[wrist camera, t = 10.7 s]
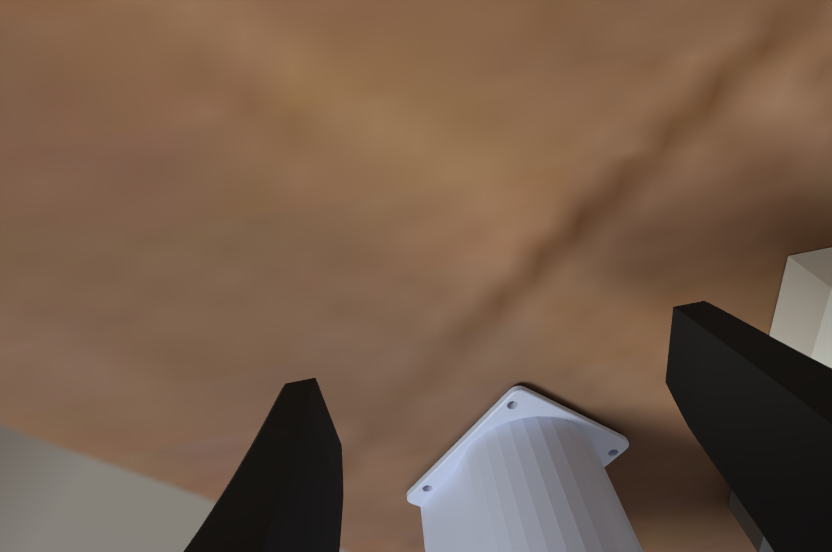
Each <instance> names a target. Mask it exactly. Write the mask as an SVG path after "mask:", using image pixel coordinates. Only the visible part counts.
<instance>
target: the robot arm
mask: <svg viewBox="0 0 832 552" xmlns="http://www.w3.org/2000/svg"><path fill="white" fill-rule="evenodd" d="M666 384H667V386H668V388H669V390H670V392H671V394H672V396H673V398H674V400H675V402H676V404H677V406H678V408H679V410H680V412H681V413H682V415H683V417H684V419H685V421H686V423H687V425H688V426H689V428H690V430H691V431H692V433H693V434H694V436H695V437H696V439H697V440H698V442H699V443H700V444H701V446H702V447H703V449H704V450H705V452H706V453H707V455H708V456H709V458H710V459H711V460H712V462H713V463H714V465H715V466H716V468H717V469H718V471H719V472H720V473H721V475H722V476H723V478H724V479H725V481H726V482H727V483H728V485H729V486H730V488H731V489H732V491H733V492H734V493H735V495H736V496H737V498H738V499H739V501H740V502H741V504H742V505H743V506H744V508H745V509H746V511H747V512H748V514H749V515H750V516H751V518H752V519H753V521H754V522H755V524H756V525H757V526H758V528H759V529H760V531H761V532H762V534H763V535H764V537H765V539H766V540H767V542H768V543H769V545H770V546H771V548H772V550H773V551H774V552H832V368H830V367H828V366H826V365H824V364H822V363H820V362H818V361H816V360H814V359H812V358H810V357H808V356H807V355H805V354H803V353H801V352H799V351H797V350H795V349H793V348H791V347H789V346H788V345H786V344H784V343H782V342H780V341H778V340H776V339H775V338H773V337H771V336H769V335H767V334H765V333H764V332H762V331H760V330H758V329H756V328H754V327H753V326H751V325H749V324H747V323H745V322H743V321H742V320H740V319H738V318H736V317H734V316H732V315H731V314H729V313H727V312H725V311H723V310H721V309H719V308H717V307H716V306H714V305H712V304H710V303H708V302H705V301H702V302H697V303H691V304H686V305H681V306H676V307H673V316H672V326H671V335H670V345H669V354H668V364H667V373H666ZM512 401H514V402H513V403H509V402H512ZM628 446H629V442H628V440H627V438H626V437H625V436H623V435H621V434H619V433H617V432H615V431H613V430H611V429H609V428H607V427H605V426H603V425H601V424H599V423H597V422H595V421H593V420H591V419H589V418H587V417H585V416H583V415H581V414H579V413H577V412H575V411H573V410H571V409H569V408H567V407H564V406H562V405H560V404H558V403H556V402H554V401H552V400H550V399H548V398H546V397H544V396H542V395H540V394H538V393H536V392H534V391H532V390H530V389H528V388H526V387H524V386H515V387H512V388H511V389H509V390H508V391H507V392H506V393H505V394H504V395H503V396H502V397H501V398H500V399H499V400H498V401H497V402H496V403H495V404H494V405H493V406H492V407H491V408H490V409H489V410H488V411H487V412H486V413H485V414H484V415H483V416H482V417H481V418H480V419H479V420H478V421H477V422H476V423H475V424H474V425H473V426H472V427H471V428H470V429H469V430H468V431H467V432H466V433H465V434H464V435H463V436H462V437H461V438H460V439H459V440H458V441H457V442H456V443H455V444H454V445H453V446H452V447H451V448H450V449H449V450H448V451H447V452H446V453H445V454H444V455H443V456H442V457H441V458H440V459H439V460H438V461H437V462H436V463H435V464H434V465H433V466H432V467H431V468H430V469H429V470H428V471H427V472H426V473H425V474H424V475H423V476H422V477H421V478H420V479H419V480H418V481H417V482H416V483H415V484H414V485H413V486H412V487H411V488H410V489H409V490H408V492H407V500H408V502H410V503H411V504H414V505H417V506H420V507H421V516H422V525H423V534H424V544H425V552H643V550H642V548H641V546H640V544H639V541H638V539H637V537H636V535H635V533H634V531H633V528H632V526H631V524H630V522H629V520H628V518H627V516H626V513H625V511H624V509H623V507H622V505H621V503H620V500H619V498H618V496H617V494H616V492H615V490H614V487H613V485H612V483H611V481H610V479H609V477H608V474H607V472H606V470H605V468H604V467H606V466H607V465H608V464H609V463H610V462H612V461H613V460H614V459H615V458H617V457H618V456H619V455H620V454H621V453H623V452H624V451H625V450H626V449H627V448H628ZM342 508H343V468H342V447H341V443H340V440H339V438H338V435H337V433H336V430H335V427H334V425H333V422H332V420H331V417H330V414H329V412H328V409H327V407H326V404H325V401H324V399H323V396H322V394H321V391H320V389H319V386H318V383H317V381H316V378H312V379H307V380H302V381H297V382H292V383H286V384H285V385H284V387H283V388H282V390H281V392H280V393H279V395H278V397H277V399H276V401H275V403H274V405H273V407H272V408H271V410H270V412H269V414H268V416H267V418H266V420H265V422H264V423H263V425H262V427H261V429H260V431H259V432H258V434H257V436H256V438H255V440H254V442H253V443H252V445H251V447H250V449H249V450H248V452H247V454H246V455H245V457H244V459H243V460H242V462H241V464H240V466H239V467H238V469H237V471H236V472H235V474H234V476H233V478H232V479H231V481H230V483H229V484H228V486H227V487H226V489H225V490H224V492H223V494H222V495H221V497H220V498H219V500H218V501H217V503H216V504H215V506H214V507H213V509H212V511H211V512H210V514H209V515H208V517H207V518H206V520H205V521H204V523H203V525H202V526H201V527H200V529H199V530H198V532H197V533H196V535H195V536H194V538H193V539H192V540H191V542H190V543H189V545H188V546H187V547H186V549H185V550H184V552H339V548H340V535H341V522H342Z"/></svg>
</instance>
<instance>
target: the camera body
mask: <svg viewBox="0 0 832 552" xmlns="http://www.w3.org/2000/svg"><path fill="white" fill-rule="evenodd" d="M769 336H771V337H773V338H775V339H776V340H778V341H780V342H782V343H784V344H786V345H788V346H789V347H791V348H793V349H795V350H797V351H799V352H801V353H803V354H805V355H807V356H808V357H810V358H812V359H814V360H816V361H818V362H820V363H822V364H824V365H826V366H828V367H830V368H832V247H830V248H825V249H820V250H815V251H810V252H805V253H800V254H795V255H790V256H788V258H787V263H786V267H785V271H784V275H783V280H782V284H781V288H780V292H779V296H778V301H777V305H776V309H775V313H774V318H773V322H772V326H771V330H770V335H769ZM728 507H729V508H730V510H731V512H732V513H733V515H734V516H735V518H736V519H737V521H738V522H739V524H740V525H741V527H742V528H743V530H744V532H745V533H746V535H747V536H748V538H749V539H750V541H751V542H752V544H753V545H754V547H755V548H756V550H757V552H767V551H773V550H772V548H771V546H770V545H769V543H768V542H767V540H766V539H765V537H764V535H763V534H762V532H761V531H760V529H759V528H758V526H757V525H756V524H755V522H754V521H753V519H752V518H751V516H750V515H749V514H748V512H747V511H746V509H745V508H744V506H743V505H742V504H741V502H740V501H739V499H738V498H737V496H736V495H735V493H734V492H733V491H732V489H731V493H730V497H729V501H728Z"/></svg>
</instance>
